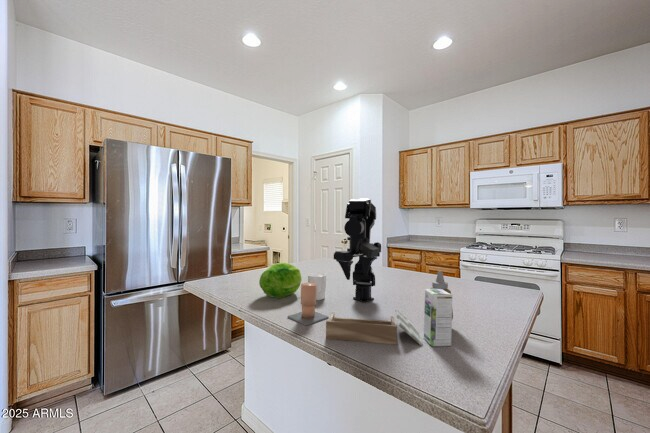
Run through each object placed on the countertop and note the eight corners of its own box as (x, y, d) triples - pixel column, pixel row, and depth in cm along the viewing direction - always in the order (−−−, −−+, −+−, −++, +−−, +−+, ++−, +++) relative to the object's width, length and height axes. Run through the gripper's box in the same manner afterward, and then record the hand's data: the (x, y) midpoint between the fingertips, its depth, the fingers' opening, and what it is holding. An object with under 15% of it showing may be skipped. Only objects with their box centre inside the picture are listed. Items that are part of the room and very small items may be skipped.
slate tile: (309, 310, 105) (309, 309, 105) (328, 317, 98) (328, 316, 98) (287, 317, 98) (287, 316, 98) (306, 325, 91) (306, 324, 91)
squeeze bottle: (440, 333, 86) (441, 274, 86) (420, 324, 93) (421, 269, 93) (458, 329, 90) (459, 272, 90) (438, 320, 97) (438, 267, 97)
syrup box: (422, 337, 83) (423, 288, 83) (442, 337, 84) (442, 288, 84) (431, 347, 78) (432, 294, 77) (452, 346, 78) (453, 293, 78)
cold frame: (332, 321, 96) (332, 304, 96) (415, 327, 92) (415, 309, 92) (325, 339, 82) (326, 320, 82) (423, 347, 78) (423, 327, 78)
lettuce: (281, 285, 138) (308, 293, 131) (248, 297, 118) (278, 308, 111) (284, 255, 137) (312, 263, 130) (251, 262, 117) (282, 271, 110)
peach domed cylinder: (315, 313, 101) (316, 282, 101) (316, 319, 96) (317, 286, 96) (300, 313, 101) (301, 282, 101) (300, 319, 95) (300, 286, 95)
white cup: (324, 301, 117) (324, 277, 117) (305, 299, 118) (305, 276, 118) (327, 295, 125) (327, 273, 125) (310, 294, 126) (310, 272, 126)
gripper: (356, 237, 90) (355, 286, 90) (391, 235, 102) (391, 278, 103) (332, 235, 99) (332, 280, 99) (368, 233, 111) (367, 273, 111)
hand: (357, 277), depth 103 cm, fingers open, 9 cm apart
